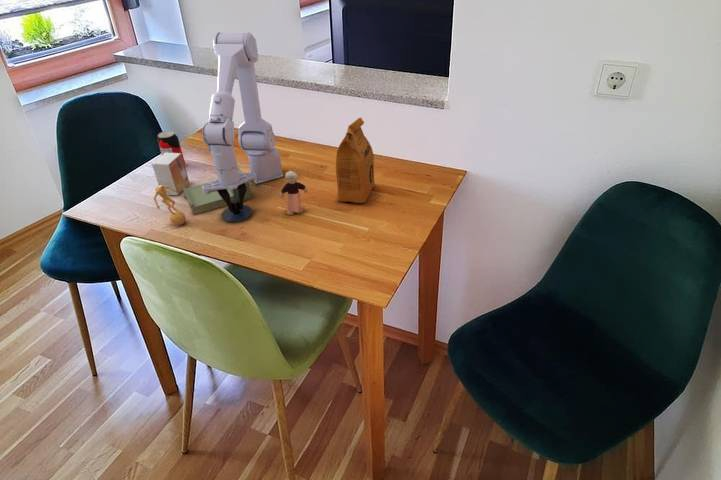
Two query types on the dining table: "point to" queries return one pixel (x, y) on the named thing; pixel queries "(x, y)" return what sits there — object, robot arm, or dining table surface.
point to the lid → (236, 213)
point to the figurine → (175, 216)
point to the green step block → (210, 197)
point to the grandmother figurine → (293, 193)
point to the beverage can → (169, 143)
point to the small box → (171, 172)
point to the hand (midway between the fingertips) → (235, 209)
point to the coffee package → (354, 165)
